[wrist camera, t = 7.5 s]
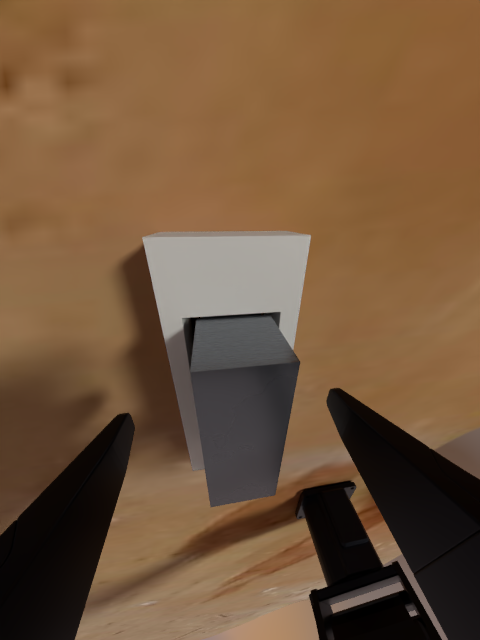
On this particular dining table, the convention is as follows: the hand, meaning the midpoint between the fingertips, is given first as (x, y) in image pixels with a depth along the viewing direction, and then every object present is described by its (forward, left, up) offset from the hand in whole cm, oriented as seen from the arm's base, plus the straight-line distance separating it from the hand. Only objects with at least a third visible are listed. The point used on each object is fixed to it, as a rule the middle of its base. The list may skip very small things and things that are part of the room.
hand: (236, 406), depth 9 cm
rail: (0, 0, -4) cm, 4 cm away
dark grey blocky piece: (0, 0, -3) cm, 3 cm away
